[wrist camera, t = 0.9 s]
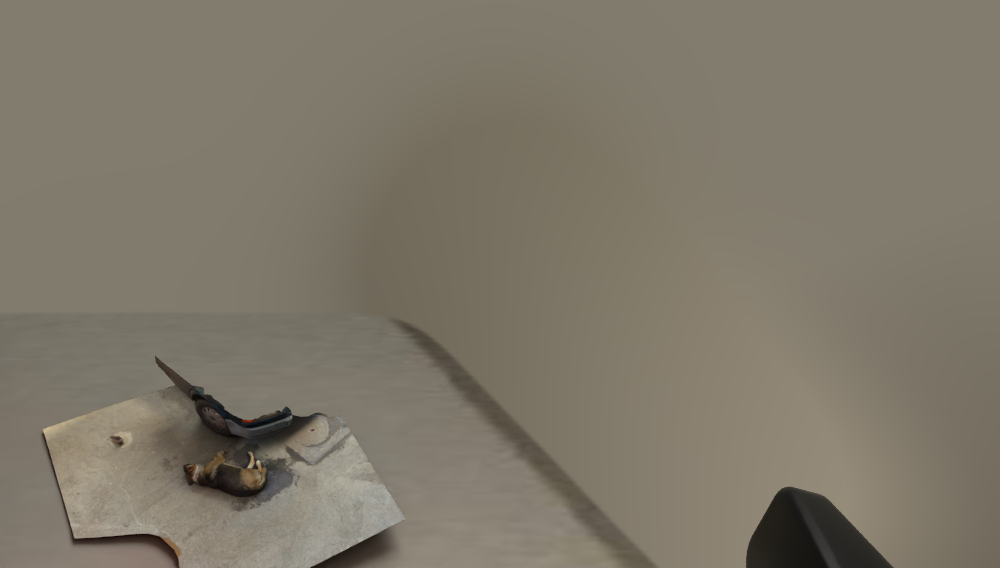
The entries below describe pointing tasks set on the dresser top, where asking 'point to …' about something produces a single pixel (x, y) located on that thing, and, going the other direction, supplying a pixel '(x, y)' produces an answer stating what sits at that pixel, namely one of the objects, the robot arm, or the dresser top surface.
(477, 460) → the dresser top surface
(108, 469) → the diorama
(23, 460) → the dresser top surface
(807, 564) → the robot arm
